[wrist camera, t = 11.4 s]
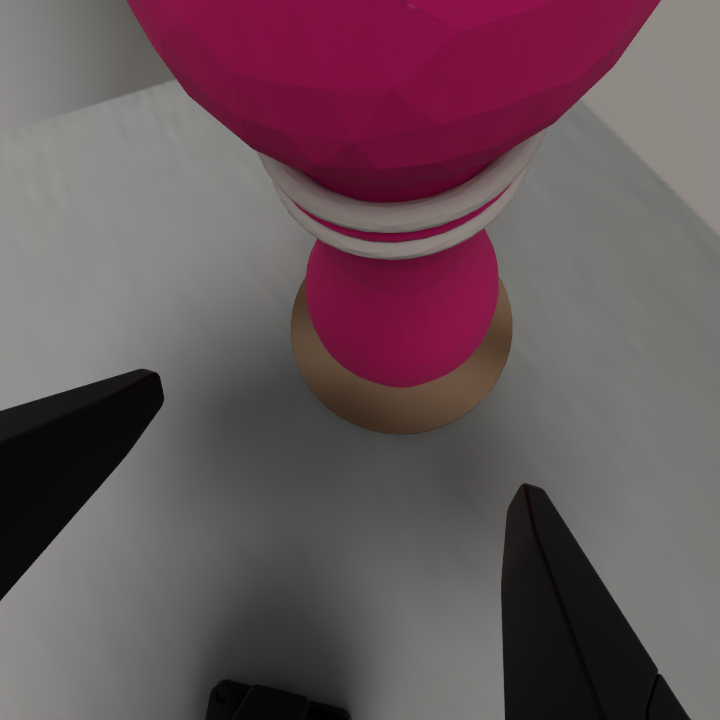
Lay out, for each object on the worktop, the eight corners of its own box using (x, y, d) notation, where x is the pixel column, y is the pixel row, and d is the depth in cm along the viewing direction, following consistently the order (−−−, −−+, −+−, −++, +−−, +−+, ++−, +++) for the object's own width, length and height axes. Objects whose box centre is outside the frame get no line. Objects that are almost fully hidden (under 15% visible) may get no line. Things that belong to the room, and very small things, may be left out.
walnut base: (496, 449, 19) (503, 450, 18) (281, 418, 21) (272, 416, 19) (512, 245, 21) (519, 230, 20) (316, 229, 23) (310, 215, 21)
